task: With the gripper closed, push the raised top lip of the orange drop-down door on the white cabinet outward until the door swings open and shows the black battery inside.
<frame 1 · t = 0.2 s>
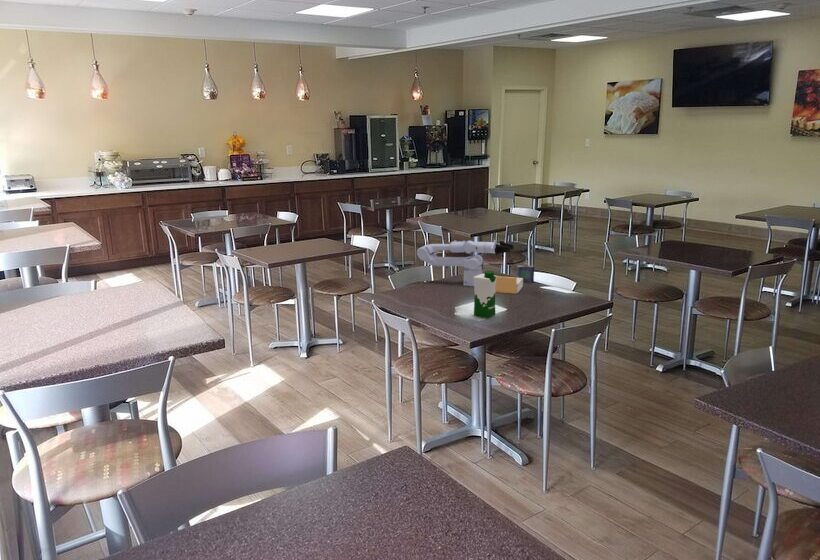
hand: (511, 248, 307), 21 cm above the table, tool horizontal, fingers open, 7 cm apart
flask: (525, 282, 324), on the table
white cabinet: (500, 289, 311), on the table
milk carton: (484, 315, 269), on the table
door: (497, 284, 303), point 5 cm above the table, hinge at 0.0°
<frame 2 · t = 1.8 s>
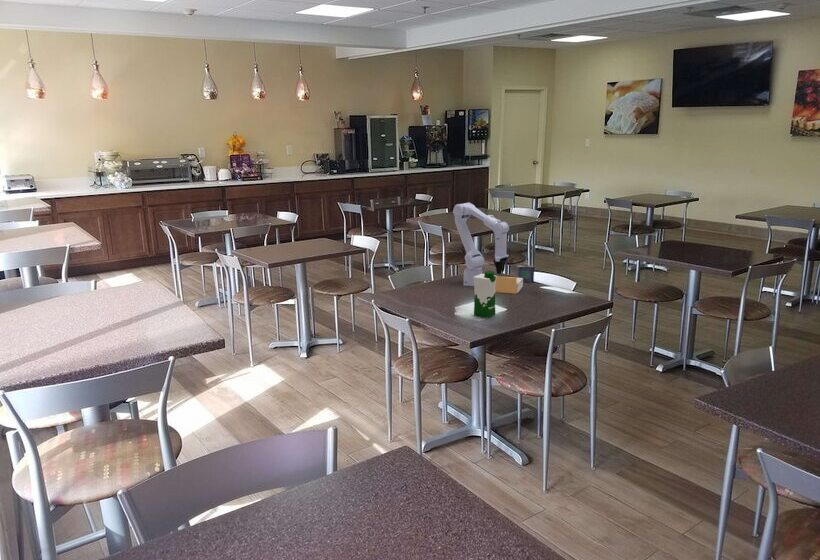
hand: (500, 272, 307), 9 cm above the table, tool pointing down, fingers open, 5 cm apart
nothing on the table moved.
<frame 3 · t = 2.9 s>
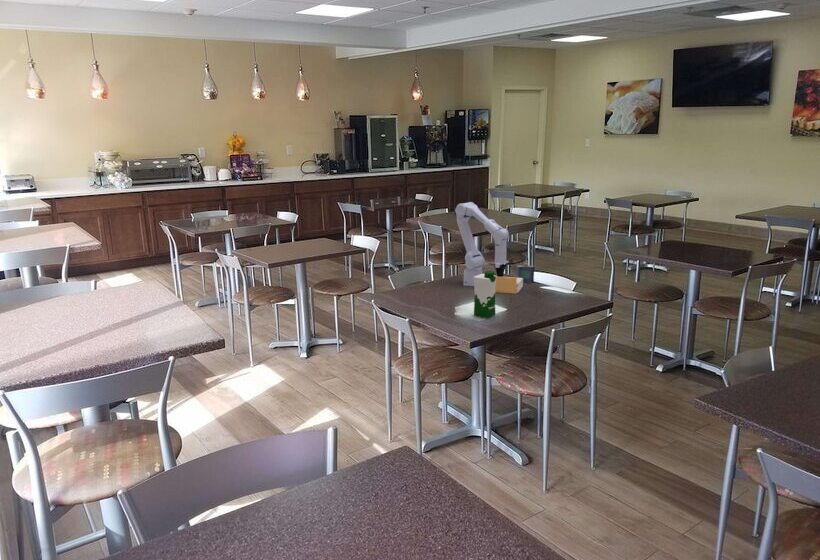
hand: (500, 278, 307), 6 cm above the table, tool pointing down, fingers closed
nothing on the table moved.
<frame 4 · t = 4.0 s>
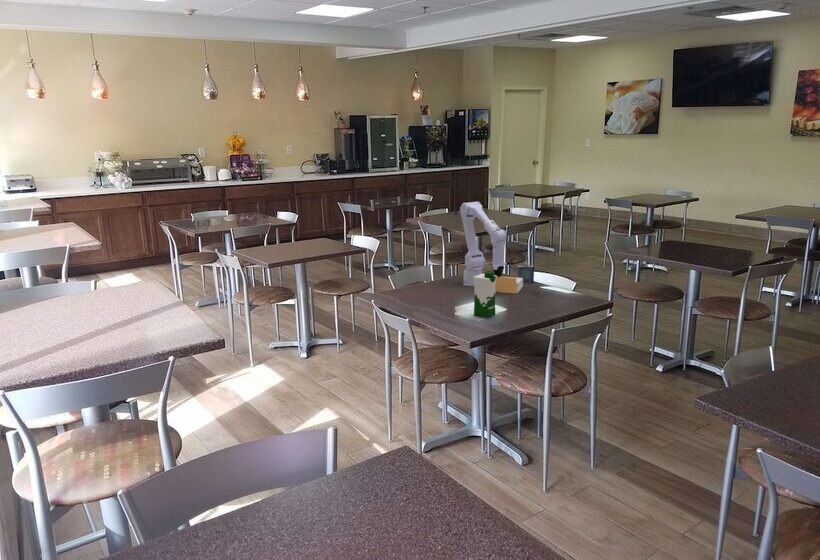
hand: (498, 280, 303), 6 cm above the table, tool pointing down, fingers closed, pressing on door
door: (497, 284, 302), point 5 cm above the table, hinge at 2.7°, touching gripper
everything else where it was.
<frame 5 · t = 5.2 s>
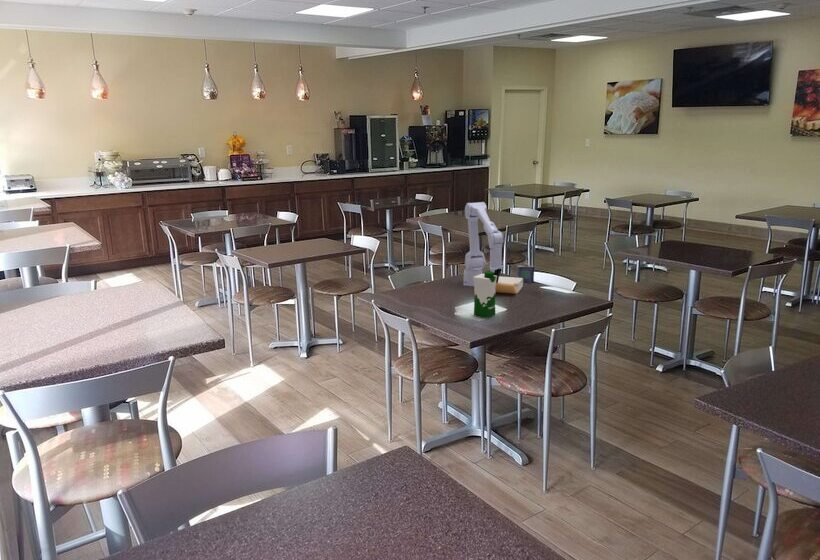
hand: (495, 283, 298), 6 cm above the table, tool pointing down, fingers closed, pressing on door
door: (496, 287, 300), point 4 cm above the table, hinge at 46.8°, touching gripper
everything else where it was.
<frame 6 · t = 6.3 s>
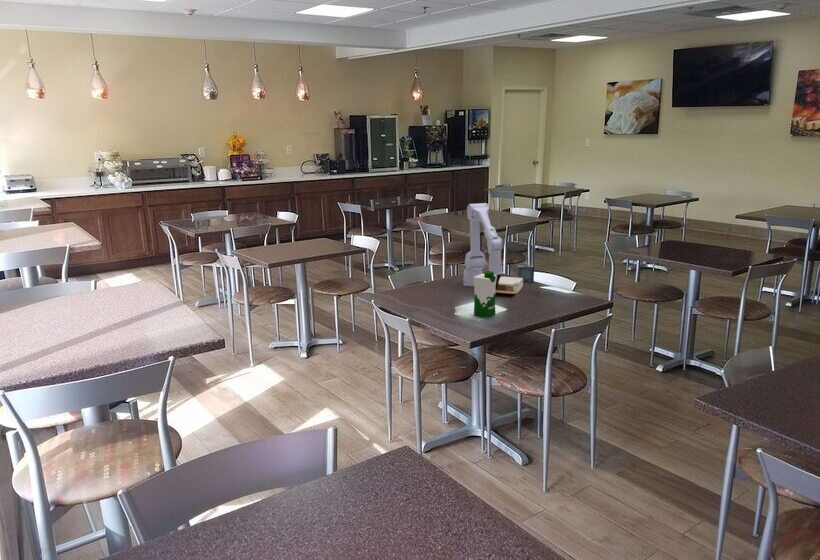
hand: (494, 289, 297), 3 cm above the table, tool pointing down, fingers closed, pressing on door
door: (495, 291, 299), point 2 cm above the table, hinge at 74.7°, touching gripper
everything else where it was.
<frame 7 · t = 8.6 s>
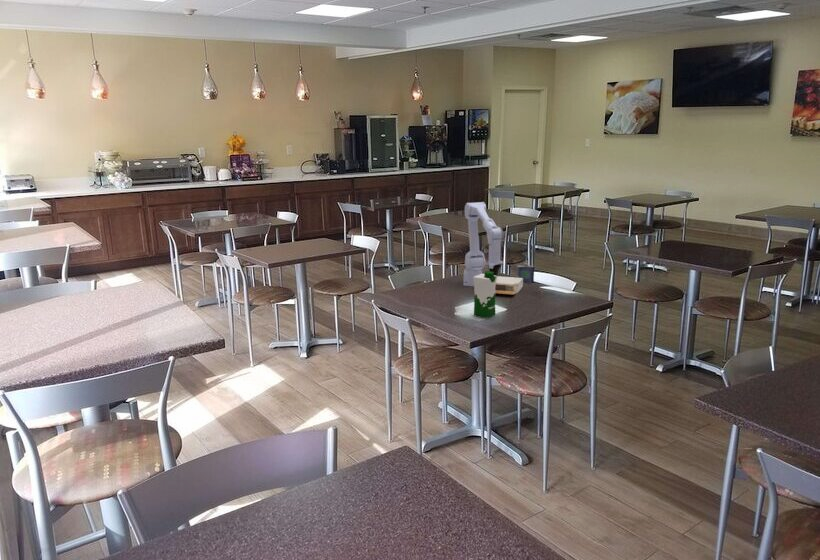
hand: (494, 279, 296), 8 cm above the table, tool pointing down, fingers closed
door: (495, 291, 299), point 2 cm above the table, hinge at 77.7°
everything else where it was.
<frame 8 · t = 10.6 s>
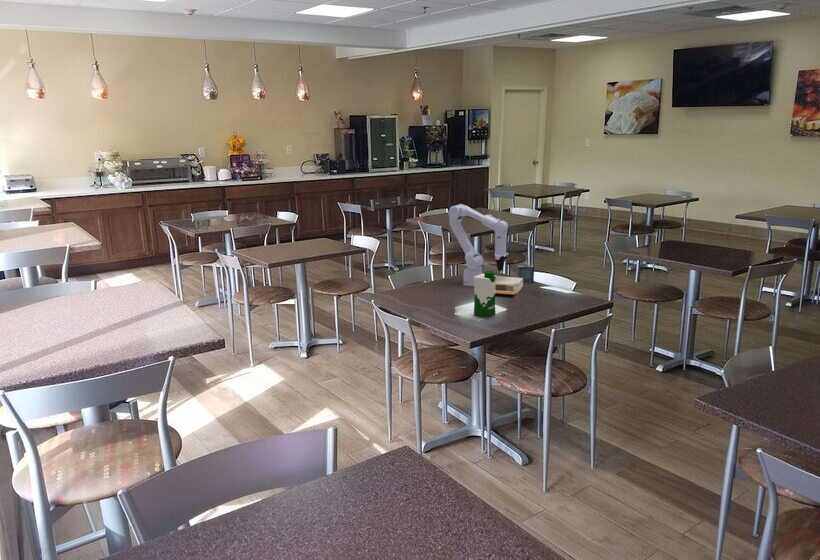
hand: (500, 270, 311), 9 cm above the table, tool pointing down, fingers closed
nothing on the table moved.
at the end: door at +78° (first picture: +0°); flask moved 0.3 cm from its start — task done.
